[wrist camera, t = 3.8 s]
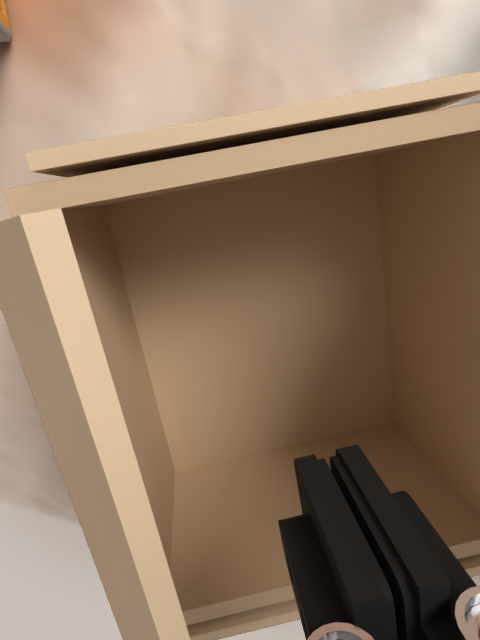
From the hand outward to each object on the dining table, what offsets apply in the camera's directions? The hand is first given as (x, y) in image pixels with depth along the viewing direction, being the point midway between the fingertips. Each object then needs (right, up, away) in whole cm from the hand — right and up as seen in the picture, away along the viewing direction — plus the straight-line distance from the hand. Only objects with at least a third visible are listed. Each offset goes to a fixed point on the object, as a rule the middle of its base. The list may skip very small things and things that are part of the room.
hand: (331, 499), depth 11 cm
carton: (-1, +4, +14) cm, 15 cm away
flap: (-8, 0, +3) cm, 9 cm away
